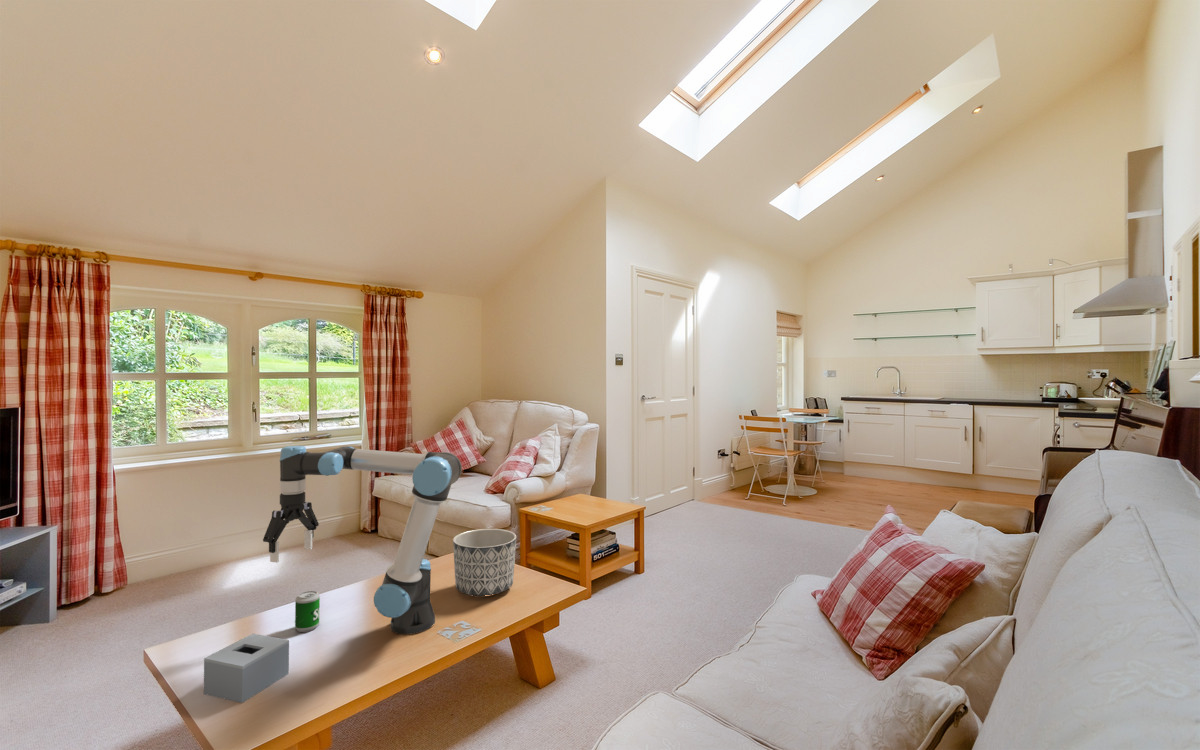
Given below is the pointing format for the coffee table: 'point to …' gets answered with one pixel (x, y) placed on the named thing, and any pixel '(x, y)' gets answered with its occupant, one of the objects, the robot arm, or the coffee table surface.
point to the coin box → (246, 667)
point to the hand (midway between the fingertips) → (292, 555)
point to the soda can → (307, 611)
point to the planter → (484, 561)
